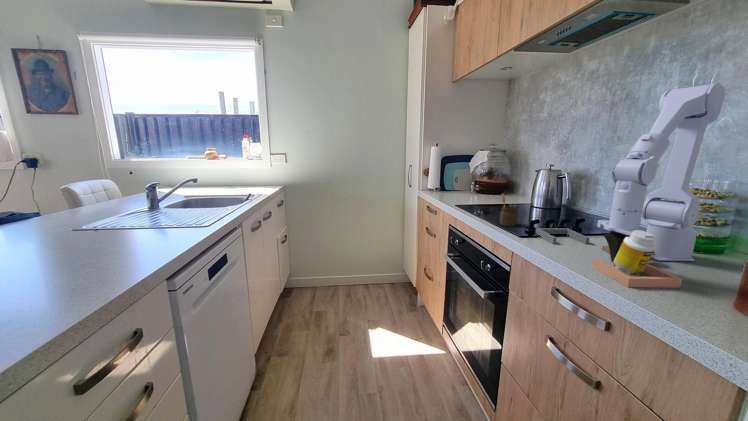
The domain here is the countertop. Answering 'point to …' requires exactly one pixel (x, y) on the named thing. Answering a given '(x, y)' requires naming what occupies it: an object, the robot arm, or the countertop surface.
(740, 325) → the countertop surface
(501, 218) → the utensil holder
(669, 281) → the frame
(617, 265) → the supplement bottle
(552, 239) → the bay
